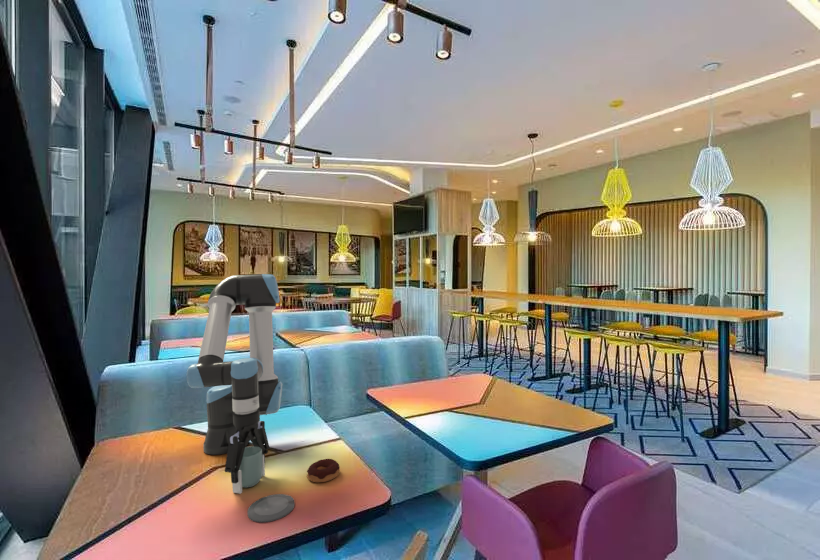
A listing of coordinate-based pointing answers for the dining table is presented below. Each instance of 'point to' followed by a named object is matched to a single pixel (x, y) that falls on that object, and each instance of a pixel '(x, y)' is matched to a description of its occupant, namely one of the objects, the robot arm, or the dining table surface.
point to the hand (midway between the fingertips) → (249, 483)
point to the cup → (251, 466)
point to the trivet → (271, 508)
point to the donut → (323, 470)
